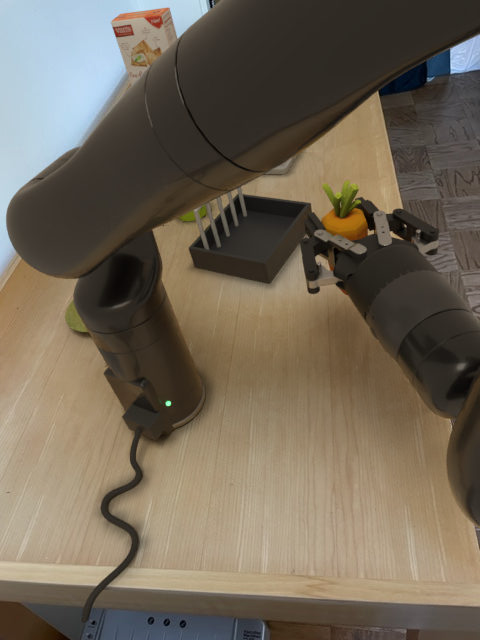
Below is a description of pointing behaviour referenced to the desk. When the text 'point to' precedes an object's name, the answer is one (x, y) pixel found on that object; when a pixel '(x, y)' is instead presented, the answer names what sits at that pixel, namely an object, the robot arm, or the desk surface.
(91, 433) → the desk surface
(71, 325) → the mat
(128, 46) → the cracker box
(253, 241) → the drying rack
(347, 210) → the carrot
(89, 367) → the desk surface
